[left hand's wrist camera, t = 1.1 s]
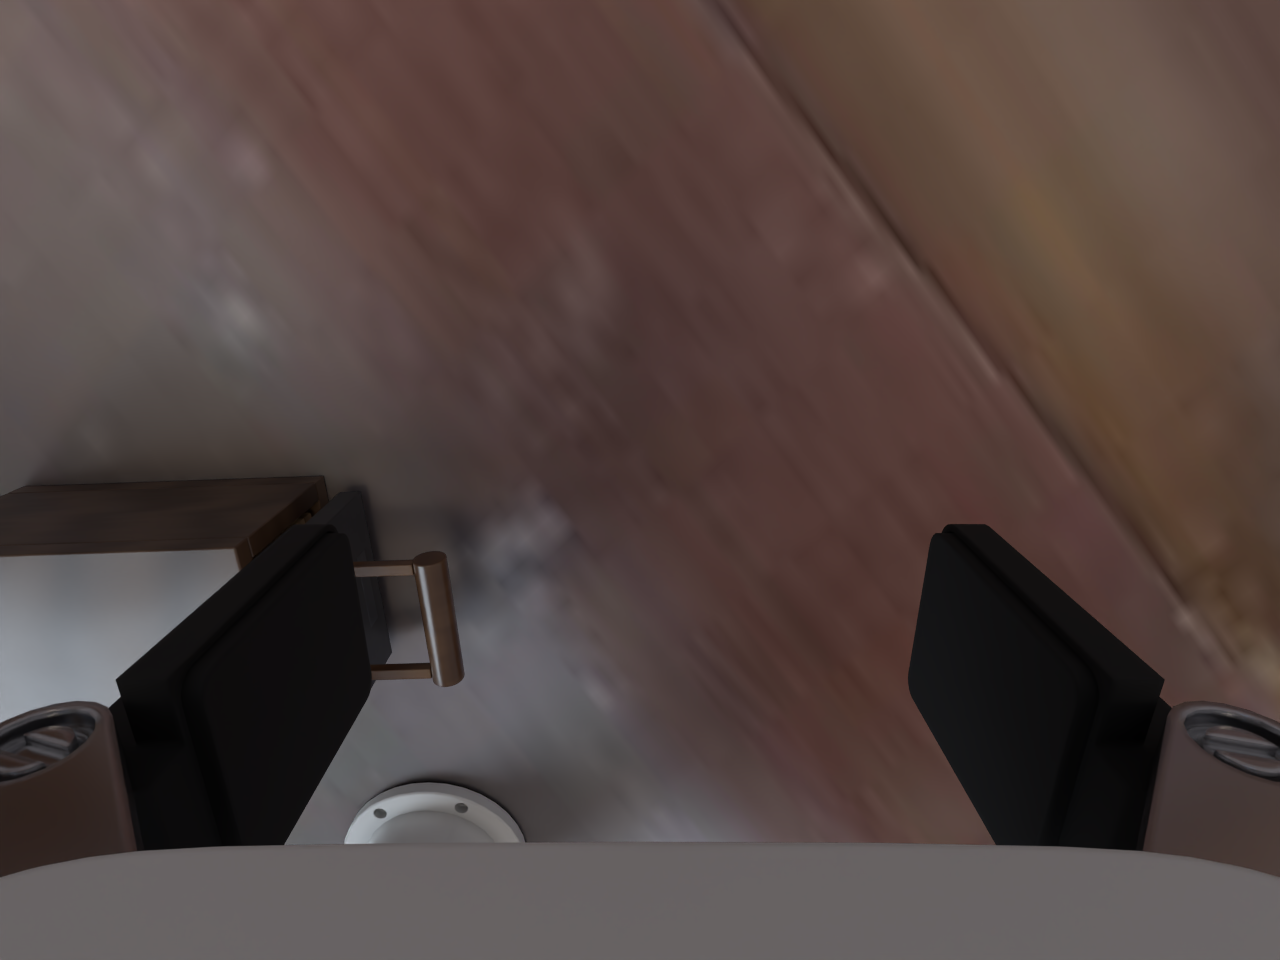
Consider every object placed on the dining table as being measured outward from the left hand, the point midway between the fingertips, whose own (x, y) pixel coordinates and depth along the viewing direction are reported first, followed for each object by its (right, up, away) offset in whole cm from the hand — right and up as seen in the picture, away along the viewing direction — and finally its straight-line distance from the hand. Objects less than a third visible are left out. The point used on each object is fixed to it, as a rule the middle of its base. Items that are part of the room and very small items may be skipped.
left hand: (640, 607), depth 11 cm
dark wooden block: (-26, -4, +30) cm, 40 cm away
